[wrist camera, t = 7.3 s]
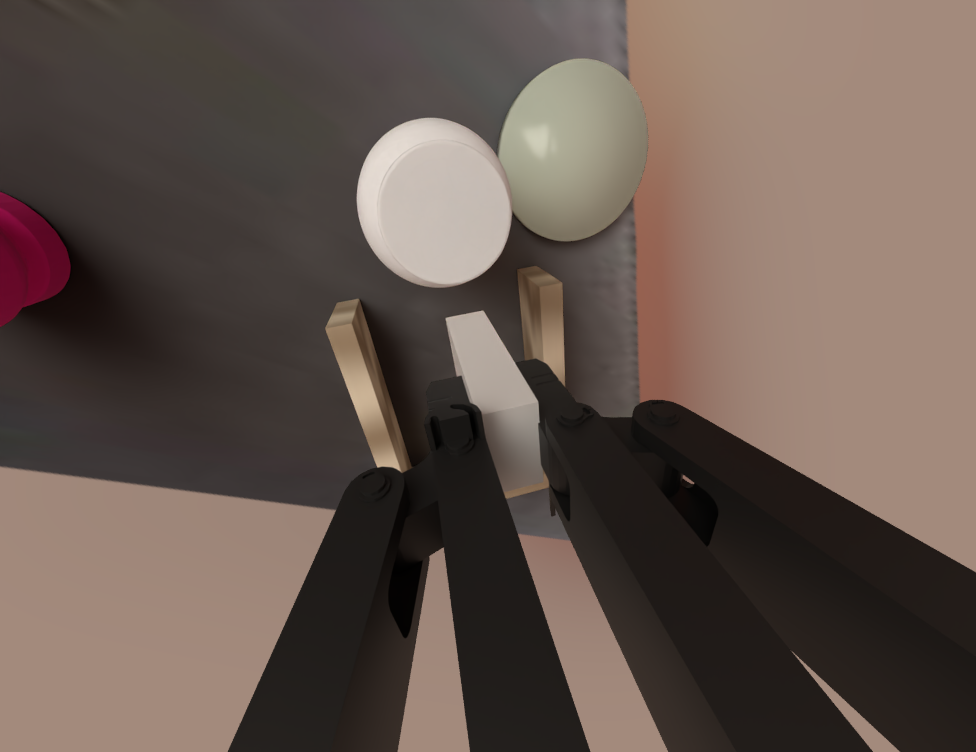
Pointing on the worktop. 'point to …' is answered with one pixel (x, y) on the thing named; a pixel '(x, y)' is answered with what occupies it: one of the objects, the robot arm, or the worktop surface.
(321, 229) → the worktop surface
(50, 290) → the pepper mill
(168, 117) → the worktop surface
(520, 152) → the sage green dome
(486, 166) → the supplement bottle
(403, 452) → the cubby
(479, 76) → the worktop surface
